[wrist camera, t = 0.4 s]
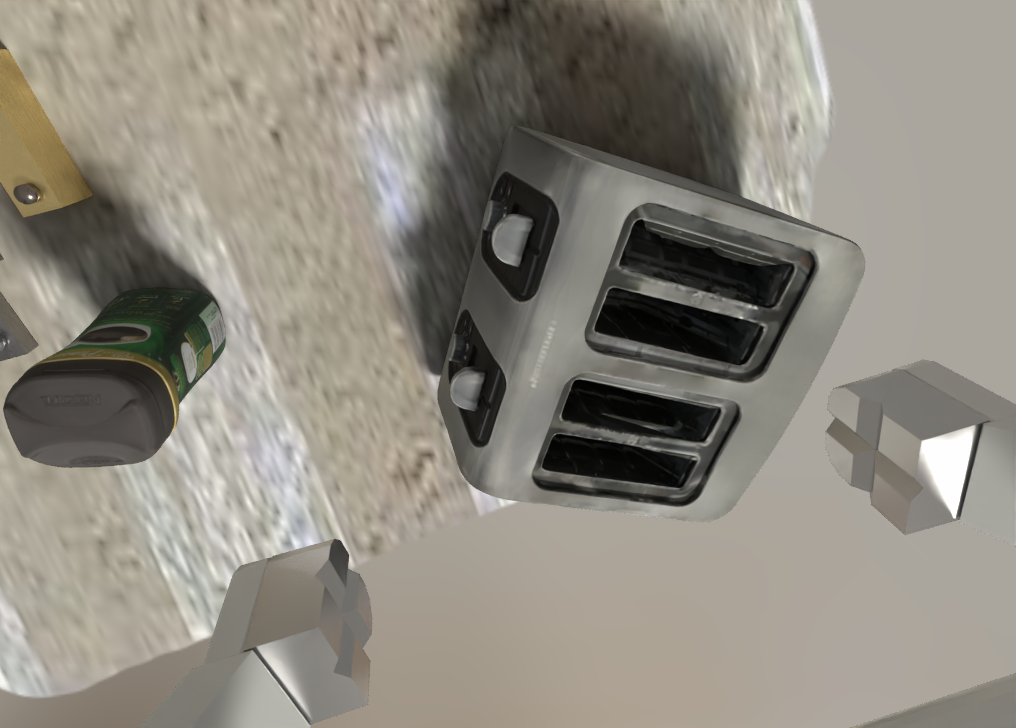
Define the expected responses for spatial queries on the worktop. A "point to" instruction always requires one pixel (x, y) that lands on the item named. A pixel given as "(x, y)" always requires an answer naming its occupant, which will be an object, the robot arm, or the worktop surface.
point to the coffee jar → (117, 381)
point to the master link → (32, 149)
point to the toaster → (633, 334)
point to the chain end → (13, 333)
